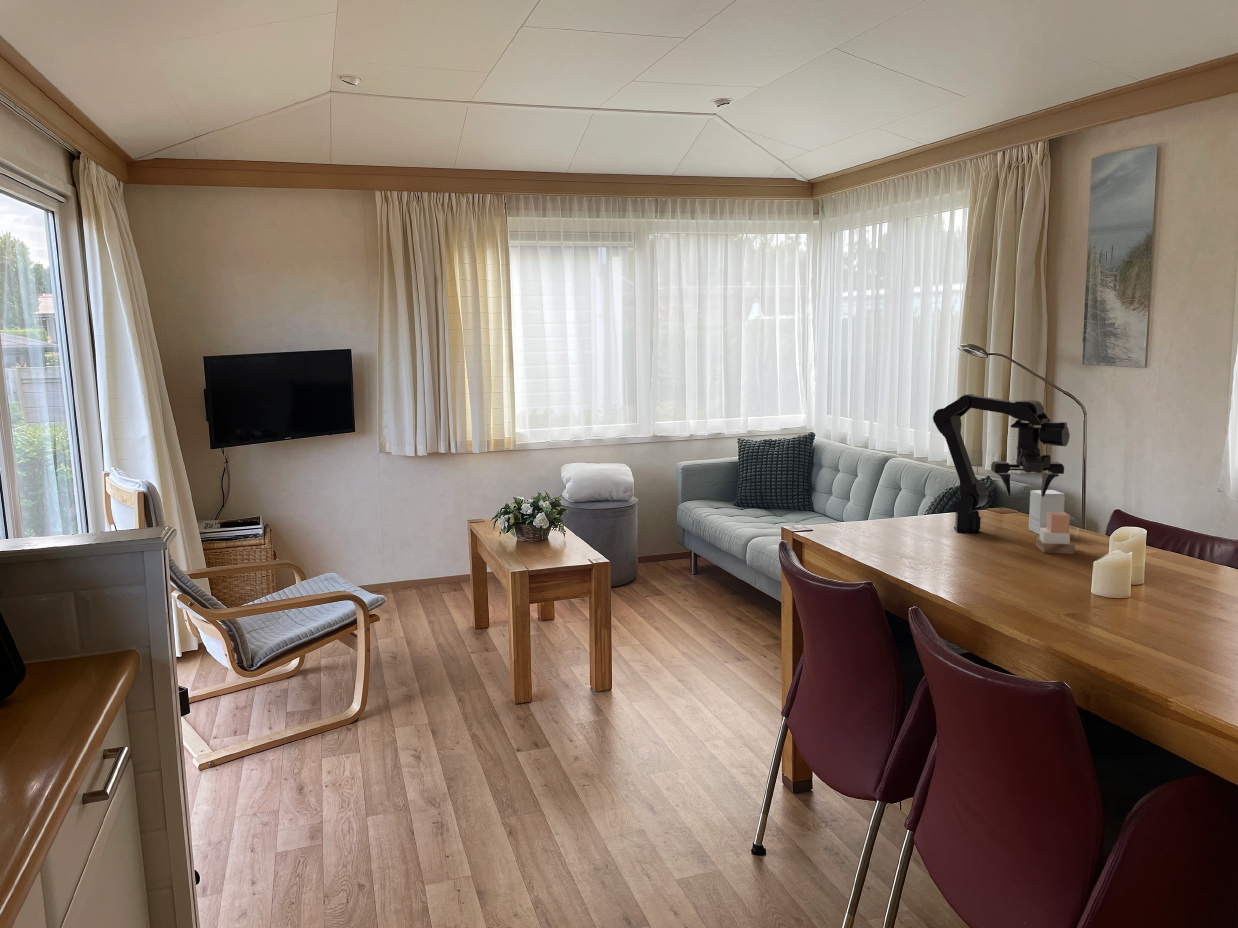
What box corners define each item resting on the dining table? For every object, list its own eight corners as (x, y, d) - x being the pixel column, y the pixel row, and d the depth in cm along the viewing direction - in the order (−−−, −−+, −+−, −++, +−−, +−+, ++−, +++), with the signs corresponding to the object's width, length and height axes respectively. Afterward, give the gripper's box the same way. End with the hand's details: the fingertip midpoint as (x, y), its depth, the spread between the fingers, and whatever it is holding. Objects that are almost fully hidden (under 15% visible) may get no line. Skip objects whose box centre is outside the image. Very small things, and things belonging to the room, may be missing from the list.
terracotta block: (1051, 532, 239) (1051, 515, 239) (1046, 529, 244) (1047, 511, 243) (1068, 532, 238) (1069, 515, 238) (1063, 529, 243) (1064, 512, 242)
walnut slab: (1043, 554, 239) (1043, 544, 239) (1035, 547, 247) (1036, 537, 247) (1074, 555, 238) (1075, 544, 237) (1065, 548, 245) (1066, 538, 245)
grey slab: (1043, 543, 240) (1044, 532, 239) (1039, 537, 246) (1039, 527, 246) (1069, 544, 238) (1070, 533, 238) (1064, 538, 244) (1064, 528, 244)
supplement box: (1063, 534, 260) (1065, 493, 258) (1038, 535, 260) (1040, 494, 258) (1051, 529, 267) (1054, 489, 265) (1027, 529, 267) (1029, 489, 265)
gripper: (1000, 447, 244) (998, 501, 246) (1071, 447, 241) (1068, 502, 243) (991, 442, 255) (989, 494, 257) (1059, 442, 251) (1056, 495, 254)
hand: (1025, 496), depth 252 cm, fingers open, 9 cm apart
